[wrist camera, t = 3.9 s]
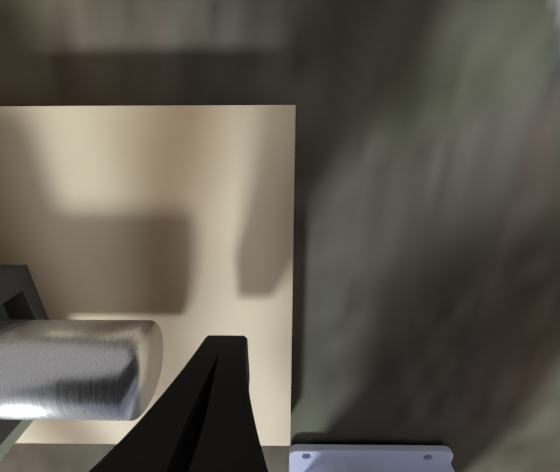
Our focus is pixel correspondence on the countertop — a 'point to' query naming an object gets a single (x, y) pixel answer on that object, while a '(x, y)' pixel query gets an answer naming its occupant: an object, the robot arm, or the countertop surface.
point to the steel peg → (78, 369)
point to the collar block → (19, 306)
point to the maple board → (158, 234)
